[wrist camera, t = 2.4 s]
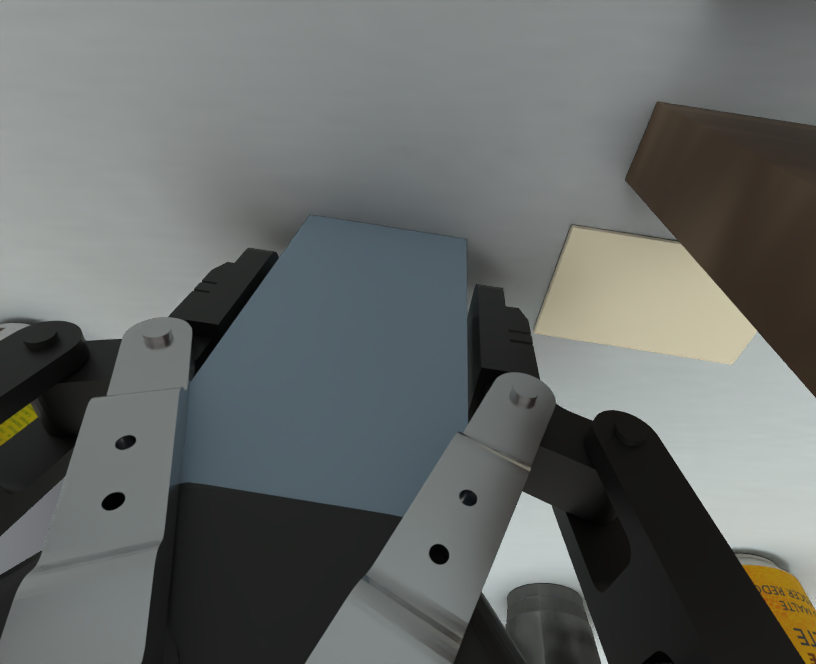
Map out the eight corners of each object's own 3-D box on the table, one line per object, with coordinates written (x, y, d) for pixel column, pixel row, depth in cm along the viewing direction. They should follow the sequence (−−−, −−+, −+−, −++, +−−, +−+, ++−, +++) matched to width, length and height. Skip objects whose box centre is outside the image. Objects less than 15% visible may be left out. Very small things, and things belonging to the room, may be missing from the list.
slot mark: (571, 224, 14) (572, 227, 13) (803, 260, 13) (807, 264, 13) (533, 330, 16) (534, 333, 16) (729, 361, 16) (732, 364, 16)
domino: (310, 214, 14) (111, 492, 6) (466, 238, 14) (469, 550, 6) (310, 269, 15) (144, 562, 7) (454, 292, 15) (444, 611, 7)
